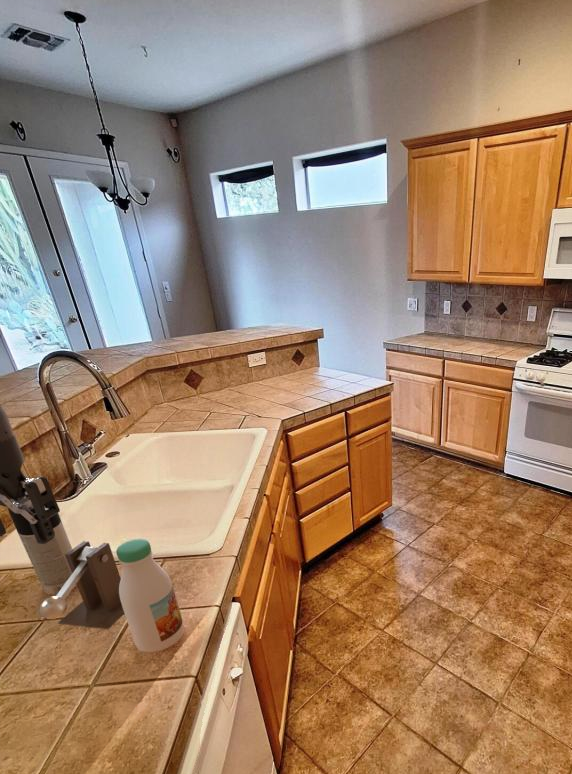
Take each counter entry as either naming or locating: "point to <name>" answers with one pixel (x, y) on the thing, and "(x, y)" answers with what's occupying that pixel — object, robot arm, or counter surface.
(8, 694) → the counter surface
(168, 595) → the milk bottle
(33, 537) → the spray can
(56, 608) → the tap lever
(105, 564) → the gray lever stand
